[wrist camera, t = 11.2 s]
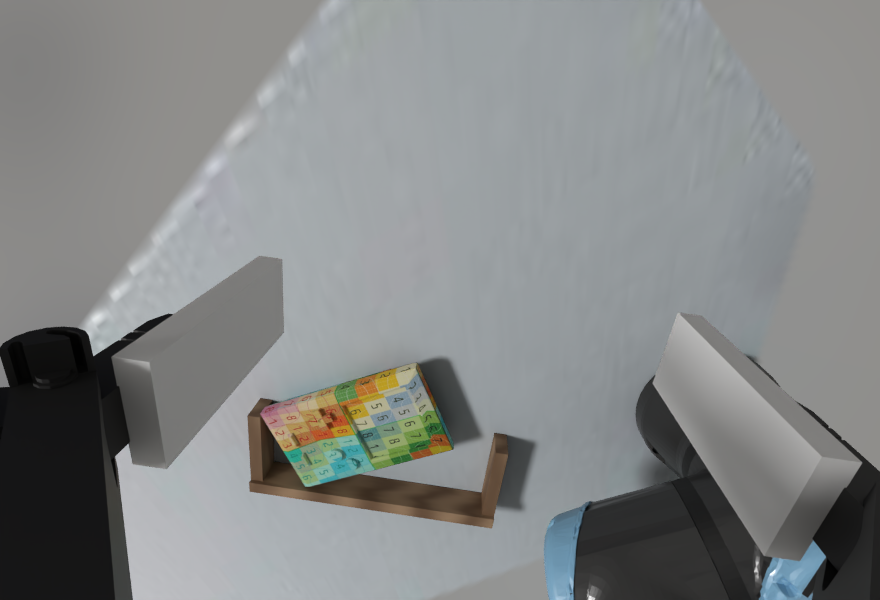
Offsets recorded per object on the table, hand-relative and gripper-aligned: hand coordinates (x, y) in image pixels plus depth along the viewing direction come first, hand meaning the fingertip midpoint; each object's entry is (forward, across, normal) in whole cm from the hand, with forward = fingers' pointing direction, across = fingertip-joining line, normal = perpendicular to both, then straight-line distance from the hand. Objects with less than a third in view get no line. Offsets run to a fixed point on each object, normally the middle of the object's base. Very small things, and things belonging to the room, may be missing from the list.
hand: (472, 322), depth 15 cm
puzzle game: (+32, +10, +30) cm, 45 cm away
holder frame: (+32, +7, +35) cm, 48 cm away
